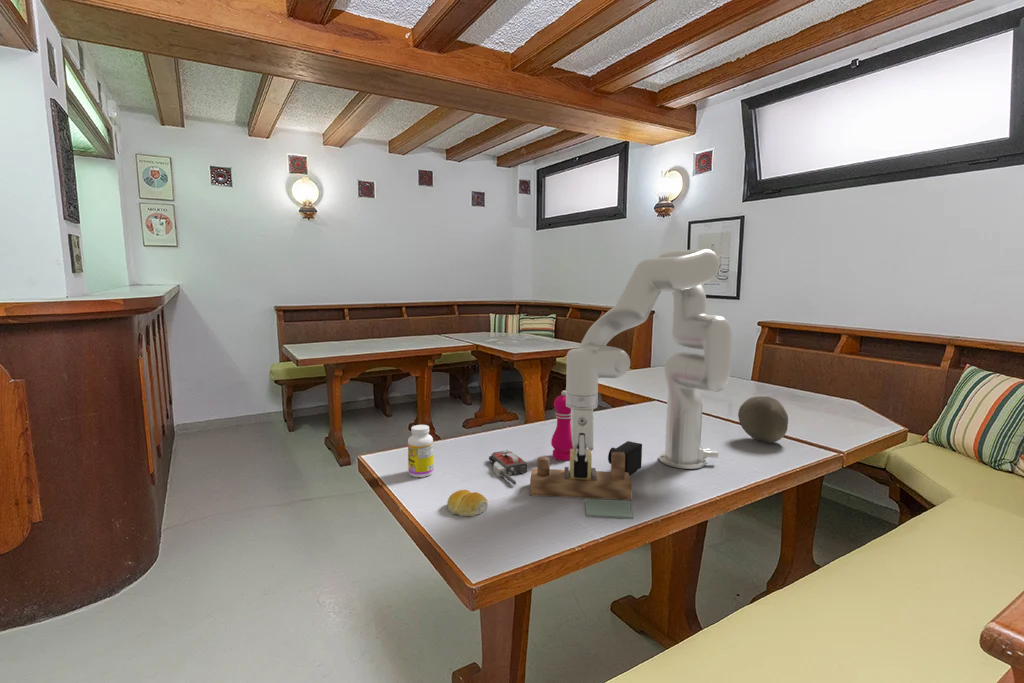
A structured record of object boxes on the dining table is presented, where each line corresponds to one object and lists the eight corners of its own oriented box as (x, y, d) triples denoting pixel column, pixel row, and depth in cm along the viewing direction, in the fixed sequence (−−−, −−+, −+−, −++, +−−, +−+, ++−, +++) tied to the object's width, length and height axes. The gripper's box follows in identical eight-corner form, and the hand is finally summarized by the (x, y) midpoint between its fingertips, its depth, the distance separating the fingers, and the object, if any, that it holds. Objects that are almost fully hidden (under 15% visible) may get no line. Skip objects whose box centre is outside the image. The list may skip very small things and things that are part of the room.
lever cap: (590, 472, 122) (590, 447, 121) (591, 479, 117) (591, 453, 117) (569, 472, 122) (570, 446, 122) (570, 478, 118) (570, 452, 117)
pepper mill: (574, 462, 140) (575, 393, 138) (549, 460, 142) (550, 392, 139) (576, 453, 147) (577, 388, 145) (552, 452, 149) (553, 387, 146)
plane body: (627, 487, 123) (628, 449, 121) (631, 500, 116) (633, 459, 114) (531, 483, 125) (532, 445, 124) (530, 495, 118) (530, 455, 117)
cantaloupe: (761, 433, 168) (764, 390, 166) (797, 446, 154) (800, 400, 153) (728, 437, 163) (730, 393, 161) (761, 451, 150) (764, 403, 148)
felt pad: (628, 502, 114) (628, 500, 114) (633, 518, 106) (633, 517, 106) (584, 500, 115) (584, 498, 115) (586, 516, 107) (586, 514, 107)
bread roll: (461, 498, 117) (461, 482, 116) (492, 507, 112) (492, 490, 112) (438, 511, 110) (438, 494, 110) (470, 521, 105) (470, 504, 105)
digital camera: (623, 463, 140) (623, 439, 139) (641, 467, 136) (642, 443, 136) (607, 474, 131) (607, 449, 131) (626, 479, 128) (627, 453, 127)
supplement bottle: (406, 471, 133) (405, 425, 132) (430, 467, 136) (429, 422, 134) (411, 480, 127) (410, 431, 126) (436, 476, 130) (435, 428, 128)
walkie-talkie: (481, 463, 141) (511, 489, 123) (481, 448, 140) (511, 472, 122) (509, 458, 144) (542, 483, 126) (509, 444, 144) (542, 467, 126)
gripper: (600, 409, 109) (598, 488, 111) (595, 392, 126) (593, 461, 128) (566, 408, 110) (564, 486, 112) (565, 392, 126) (564, 460, 128)
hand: (580, 472), depth 120 cm, fingers closed on lever cap, 4 cm apart
